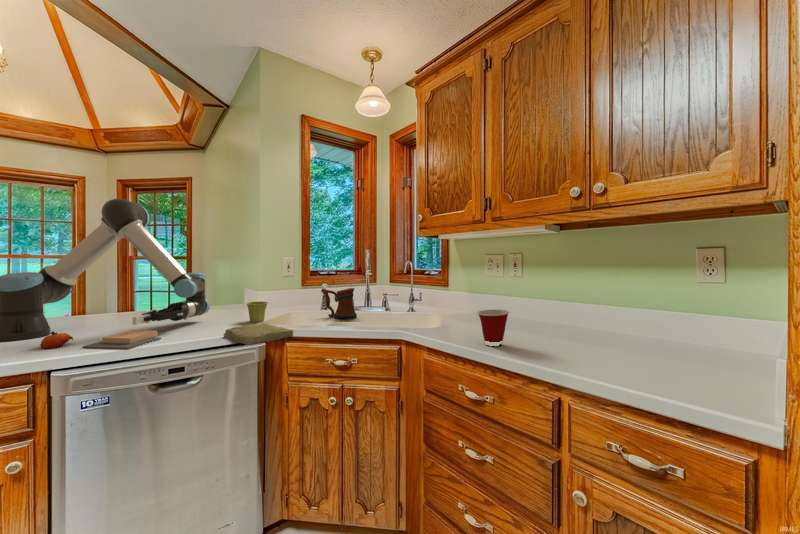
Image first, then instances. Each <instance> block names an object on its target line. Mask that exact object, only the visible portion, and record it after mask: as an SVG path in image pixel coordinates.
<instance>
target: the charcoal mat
mask: <svg viewBox="0 0 800 534" xmlns="http://www.w3.org/2000/svg"><path fill="white" fill-rule="evenodd" d="M158 339H161V340H162V337H153V338H150V339H146V340H143V341H140V342H136V343H133V344H105V343H102V340H100V341H98V342H94V343H89V344H85V345H82V349H99V348H101V349H102V350H103V349H104V350H105V349H106V350H107V349H109V350H131V349H135V348H137V347H136V346H138V347H140V346H139V345H141V346H143V345H142V344H144V345H146V344H145V343H148V344H150V343H149V342H151V343H153V342H152V341H154V342H156V341H155V340H157V341H159V340H158ZM134 347H135V348H134Z"/></svg>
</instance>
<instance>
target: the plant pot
mask: <svg viewBox="0 0 800 534" xmlns="http://www.w3.org/2000/svg"><path fill="white" fill-rule="evenodd" d="M268 303H269V302H268V301H249V302H246V303H245V304H246V307H247V309H248V311H247V312H248V317H249V322H250V323H255V322H256V323H262V322H264V321H265V317H266V310H267V306H268Z"/></svg>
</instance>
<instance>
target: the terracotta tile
mask: <svg viewBox="0 0 800 534" xmlns="http://www.w3.org/2000/svg"><path fill="white" fill-rule="evenodd" d="M158 333H159V332H158V330H140V329H139V330H138V329H137V330H136V329H132V330H127V331H123V332H120V333H119V332H118V333H115V334H112V335H106V336H103V337H102V338H101V339H102V340H101V341H102V343H105V344H133V343H136V342H140V341H143V340H146V339H150V338H153V337H156V338H158V336H159V335H158Z"/></svg>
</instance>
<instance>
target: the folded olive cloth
mask: <svg viewBox="0 0 800 534" xmlns="http://www.w3.org/2000/svg"><path fill="white" fill-rule="evenodd" d="M223 337H224V338H227V339H231V340H232V341H234V342H236V343H238V344H239V343H240V344H244V345H246V346H252V345H257V344H263V343H268V342H272V341H277V340H281V339H287V338H291V337H294V330H293V329H290V328H286V327H282V326H277V325H273V324H272V325H271V324H268V323H258V324H256V323H255V324H254V323H253V324H246V325H242V326H234V327H233V326H232V327H231V328H227V329H226V330H225V332H224V333H223Z"/></svg>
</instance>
